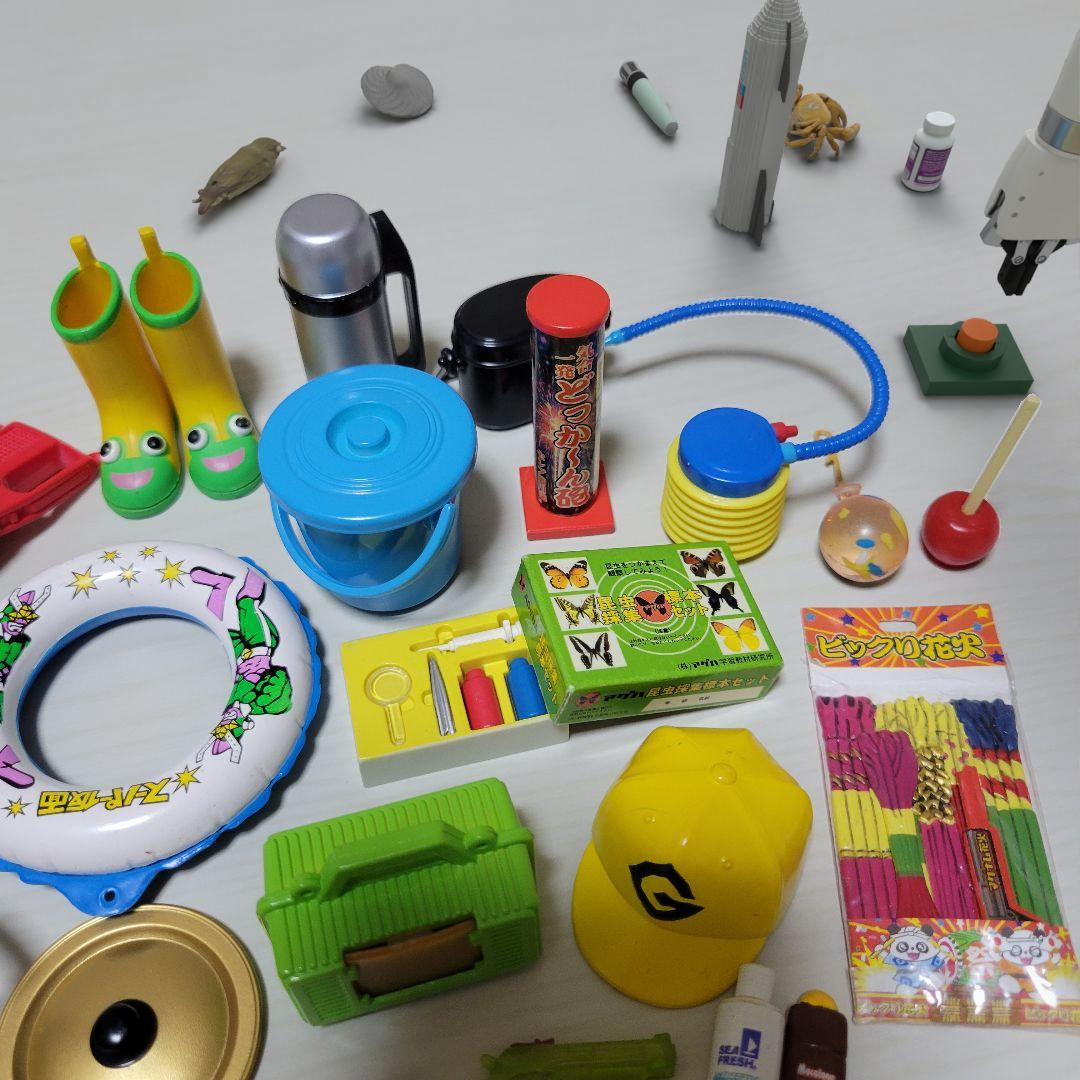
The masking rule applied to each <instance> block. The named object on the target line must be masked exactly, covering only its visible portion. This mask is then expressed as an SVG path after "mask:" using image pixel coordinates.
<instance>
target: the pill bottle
mask: <svg viewBox="0 0 1080 1080" xmlns="http://www.w3.org/2000/svg"><path fill="white" fill-rule="evenodd" d="M955 126H956V118H955V116H953V115H952V114H951V113H948V112H945V111H931V112H928V113H927V114H926V115H925V119H924V120H923V123H922V126H921V127H920V128H918V130H916V132H915V133H914V136H913V140H912V142H911V146H910V149H909V153H908V156H907V159H906V162H905V164H904V167H903V171H902V175H901V180H902V183H903V184H904V185H905V186H906V187H907V188H908V189H910V190H913V191H916V192H930V191H933V190H935V189H936V188H938V187H939V186H940V184H941V181H942V178H943V175H944V172H945V169H946V166H947V163H948V160H949V158H950V155H951V152H952V149H953V146H954V143H955V135H954V133H953V131H954V128H955Z"/></svg>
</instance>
